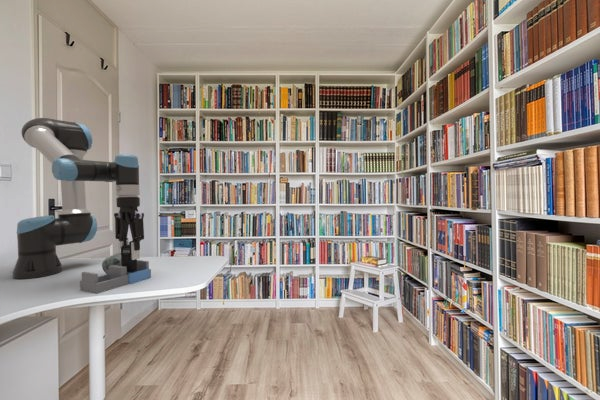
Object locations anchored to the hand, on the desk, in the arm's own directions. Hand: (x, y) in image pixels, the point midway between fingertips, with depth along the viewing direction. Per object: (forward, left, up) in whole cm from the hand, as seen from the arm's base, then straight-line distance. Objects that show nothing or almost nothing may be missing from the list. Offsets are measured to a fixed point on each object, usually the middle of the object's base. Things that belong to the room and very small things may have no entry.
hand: (130, 258), depth 112 cm
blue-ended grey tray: (0, -5, -8) cm, 9 cm away
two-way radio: (0, 0, -5) cm, 5 cm away
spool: (-13, +4, -8) cm, 16 cm away
